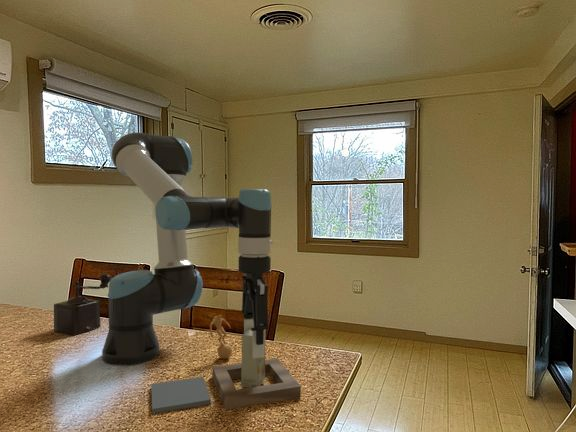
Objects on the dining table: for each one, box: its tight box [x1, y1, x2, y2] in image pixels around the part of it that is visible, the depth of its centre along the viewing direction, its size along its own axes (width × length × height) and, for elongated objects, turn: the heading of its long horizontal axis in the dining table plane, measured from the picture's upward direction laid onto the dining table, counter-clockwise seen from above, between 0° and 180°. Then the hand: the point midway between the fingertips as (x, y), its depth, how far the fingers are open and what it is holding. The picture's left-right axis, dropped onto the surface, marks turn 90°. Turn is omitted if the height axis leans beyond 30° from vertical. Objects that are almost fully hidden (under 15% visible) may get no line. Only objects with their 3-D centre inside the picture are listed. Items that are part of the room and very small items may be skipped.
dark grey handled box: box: [53, 273, 113, 337], centre depth 137 cm, size 16×11×18 cm
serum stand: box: [211, 357, 302, 411], centre depth 94 cm, size 17×17×2 cm
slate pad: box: [150, 376, 212, 415], centre depth 90 cm, size 12×12×1 cm
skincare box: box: [240, 328, 267, 388], centre depth 94 cm, size 6×4×12 cm
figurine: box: [209, 314, 233, 360], centre depth 112 cm, size 8×6×12 cm
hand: (253, 350), depth 94 cm, fingers closed on skincare box, 7 cm apart
